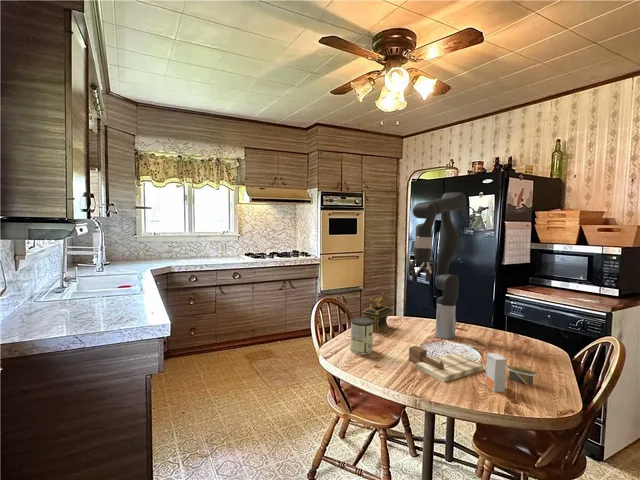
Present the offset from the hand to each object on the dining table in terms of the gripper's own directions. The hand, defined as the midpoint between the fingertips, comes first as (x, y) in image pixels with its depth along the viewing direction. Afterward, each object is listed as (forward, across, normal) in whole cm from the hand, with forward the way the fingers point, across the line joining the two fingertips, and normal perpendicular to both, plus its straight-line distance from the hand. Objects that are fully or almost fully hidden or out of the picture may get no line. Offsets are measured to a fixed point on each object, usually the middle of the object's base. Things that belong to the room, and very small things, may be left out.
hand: (421, 282), depth 163 cm
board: (+32, +4, +21) cm, 39 cm away
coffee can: (+32, +24, -12) cm, 42 cm away
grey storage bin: (+33, -11, +42) cm, 54 cm away
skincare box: (+32, +3, +40) cm, 52 cm away
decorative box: (+32, -6, -35) cm, 48 cm away
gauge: (+32, +11, +14) cm, 37 cm away
